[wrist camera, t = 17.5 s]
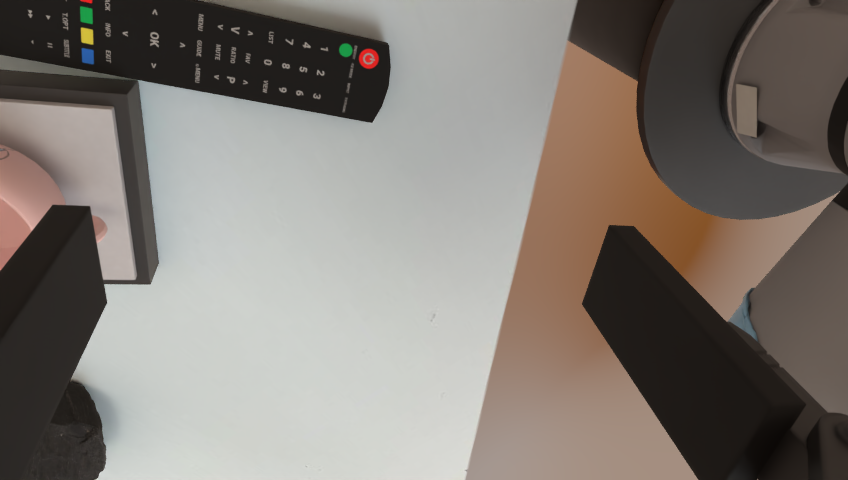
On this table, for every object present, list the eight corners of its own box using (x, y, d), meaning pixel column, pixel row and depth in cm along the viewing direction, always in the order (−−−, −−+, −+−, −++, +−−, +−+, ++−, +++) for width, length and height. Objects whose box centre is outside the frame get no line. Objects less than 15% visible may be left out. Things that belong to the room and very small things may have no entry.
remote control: (-26, -53, 32) (-39, -50, 30) (394, 42, 38) (397, 47, 37) (-15, 44, 34) (-26, 49, 33) (378, 117, 41) (380, 124, 40)
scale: (138, 81, 37) (124, 97, 34) (159, 268, 44) (149, 295, 41) (-121, 59, 34) (-160, 75, 31) (-52, 265, 41) (-79, 293, 38)
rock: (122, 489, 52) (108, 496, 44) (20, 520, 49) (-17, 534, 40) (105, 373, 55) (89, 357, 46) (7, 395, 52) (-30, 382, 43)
